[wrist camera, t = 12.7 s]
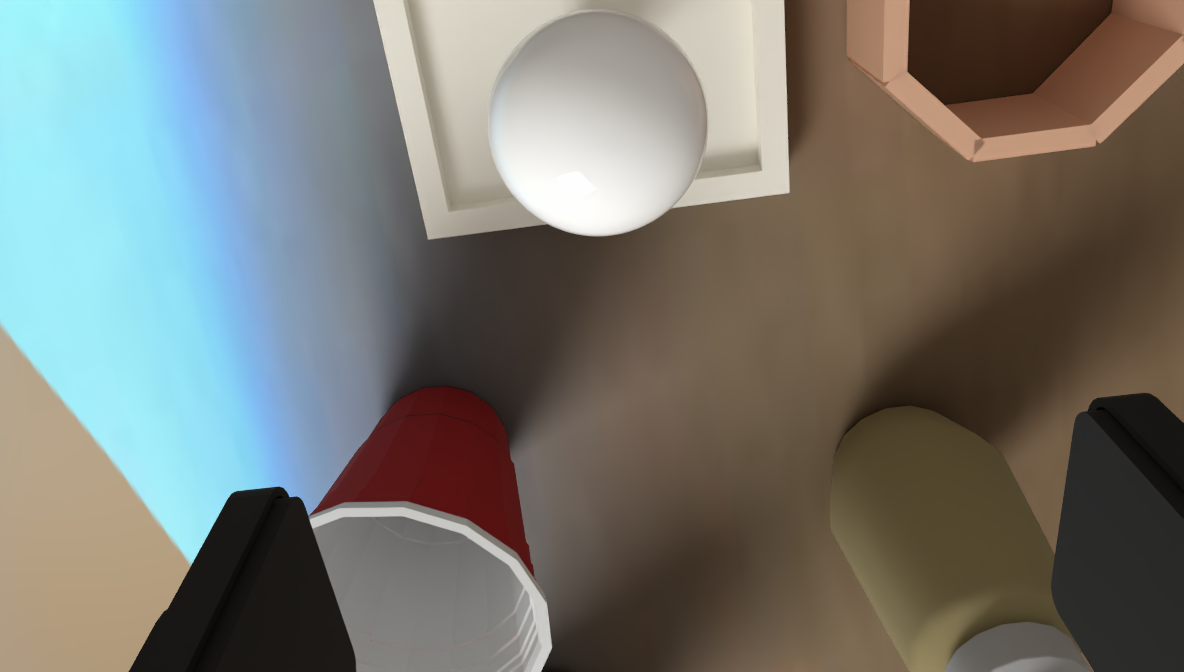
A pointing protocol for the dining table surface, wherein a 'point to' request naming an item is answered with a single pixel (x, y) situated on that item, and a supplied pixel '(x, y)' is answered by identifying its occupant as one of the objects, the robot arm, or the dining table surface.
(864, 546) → the squeeze bottle
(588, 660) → the dining table surface
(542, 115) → the lightbulb
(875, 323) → the dining table surface
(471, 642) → the plastic cup
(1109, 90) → the terracotta octagonal ring
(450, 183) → the tray
